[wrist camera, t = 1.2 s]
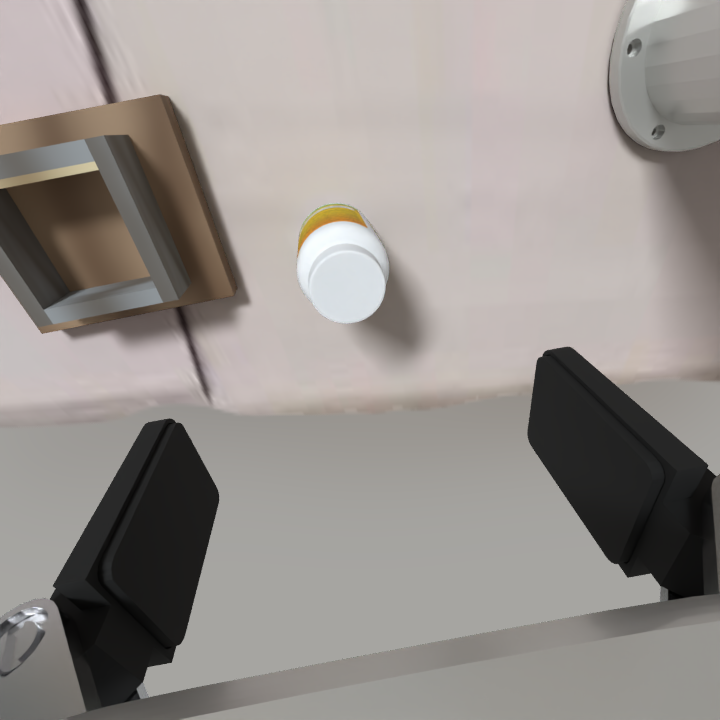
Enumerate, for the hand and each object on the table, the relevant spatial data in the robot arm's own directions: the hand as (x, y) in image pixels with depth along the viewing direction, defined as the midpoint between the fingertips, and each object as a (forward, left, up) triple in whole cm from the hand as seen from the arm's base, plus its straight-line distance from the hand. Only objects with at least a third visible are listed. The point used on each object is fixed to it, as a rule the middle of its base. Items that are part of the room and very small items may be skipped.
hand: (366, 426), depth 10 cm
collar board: (+15, -4, -20) cm, 25 cm away
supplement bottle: (0, 0, -21) cm, 21 cm away
